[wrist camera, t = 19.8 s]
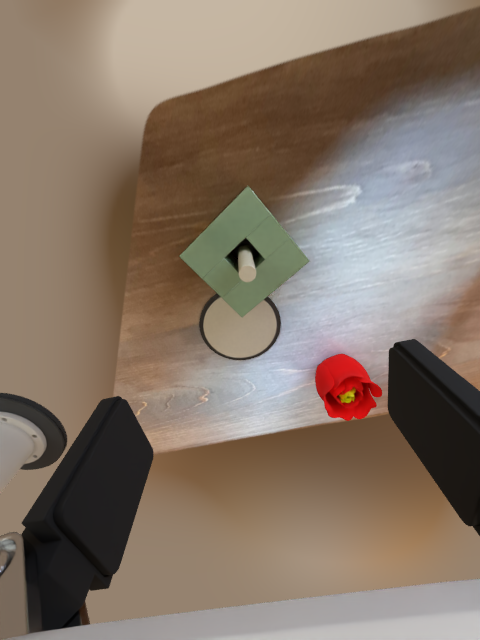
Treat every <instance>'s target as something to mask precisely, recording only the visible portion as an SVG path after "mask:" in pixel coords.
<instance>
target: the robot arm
mask: <svg viewBox="0 0 480 640" xmlns="http://www.w3.org/2000/svg"><path fill="white" fill-rule="evenodd" d="M388 411H389V414H390V416H391V418H392V420H393V421H394V423H395V424H396V425H397V427H398V428H399V430H400V431H401V433H402V434H403V436H404V437H405V439H406V440H407V441H408V443H409V444H410V446H411V447H412V449H413V450H414V452H415V453H416V454H417V456H418V457H419V459H420V460H421V462H422V463H423V464H424V466H425V467H426V469H427V470H428V472H429V473H430V475H431V476H432V478H433V479H434V481H435V482H436V483H437V485H438V486H439V488H440V489H441V491H442V492H443V494H444V495H445V496H446V498H447V499H448V501H449V502H450V504H451V505H452V507H453V508H454V509H455V511H456V512H457V514H458V515H459V517H460V518H461V519H462V521H463V522H464V523H465V524H466V525H468V526H473V527H474V529H475V530H476V531H477V533H478V534H479V536H480V391H479V390H478V389H476V388H475V387H474V386H473V385H471V384H470V383H469V382H468V381H466V380H465V379H464V378H462V377H461V376H460V375H459V374H457V373H456V372H455V371H454V370H452V369H451V368H450V367H449V366H448V365H446V364H445V363H444V362H443V361H441V360H440V359H439V358H438V357H437V356H435V355H434V354H433V353H432V352H430V351H429V350H428V349H427V348H426V347H424V346H423V345H422V344H421V343H419V342H418V341H417V340H415V339H412V340H407V341H401V342H396V343H395V344H394V347H393V348H390V350H389V375H388ZM46 447H47V442H46V438H45V436H44V434H43V432H42V431H41V430H40V429H39V428H38V427H37V426H36V425H35V424H34V423H32V422H31V421H29V420H28V419H26V418H23V417H21V416H19V415H16V414H13V413H8V412H0V494H1V492H2V491H3V490H4V489H5V487H6V486H7V485H8V484H9V482H10V481H11V480H12V478H13V477H14V476H15V475H16V473H17V472H18V471H19V470H20V468H21V467H22V466H23V464H27V463H31V462H34V461H36V460H37V459H39V458H40V457H41V456H42V454H43V453H44V451H45V450H46ZM152 460H153V449H152V447H151V445H150V443H149V441H148V439H147V437H146V435H145V434H144V432H143V430H142V428H141V426H140V424H139V422H138V421H137V419H136V417H135V415H134V413H133V411H132V409H131V407H130V406H129V404H128V402H127V401H126V400H125V399H122V398H121V397H119V396H117V397H112V398H107V399H103V400H101V401H100V403H99V404H98V406H97V408H96V409H95V410H94V412H93V414H92V415H91V417H90V418H89V420H88V421H87V423H86V424H85V426H84V427H83V429H82V431H81V432H80V434H79V435H78V437H77V438H76V440H75V441H74V443H73V444H72V446H71V447H70V449H69V451H68V452H67V454H66V455H65V457H64V458H63V460H62V462H61V463H60V465H59V466H58V468H57V469H56V471H55V472H54V474H53V476H52V477H51V478H50V480H49V481H48V483H47V485H46V486H45V488H44V489H43V491H42V492H41V494H40V496H39V497H38V498H37V500H36V502H35V503H34V505H33V506H32V508H31V509H30V511H29V513H28V514H27V516H26V517H25V519H24V520H23V522H22V524H23V525H24V526H25V527H26V528H25V530H24V531H23V533H22V535H21V534H19V533H17V532H11V533H7V534H4V535H2V536H0V640H480V579H472V580H462V581H450V582H441V583H432V584H424V585H415V586H406V587H397V588H388V589H380V590H370V591H362V592H353V593H344V594H335V595H326V596H318V597H309V598H301V599H292V600H284V601H276V602H267V603H259V604H251V605H243V606H235V607H225V608H218V609H209V610H201V611H193V612H184V613H176V614H168V615H161V616H152V617H144V618H137V619H129V620H120V621H112V622H104V623H96V624H90V623H89V618H88V613H87V608H86V603H85V599H86V596H87V593H88V591H89V589H90V590H99V589H106V588H109V586H110V582H111V579H112V576H113V574H115V573H116V572H117V570H118V569H119V566H120V563H121V560H122V557H123V554H124V550H125V547H126V544H127V541H128V538H129V534H130V531H131V528H132V525H133V522H134V518H135V515H136V512H137V509H138V505H139V502H140V499H141V496H142V493H143V489H144V486H145V483H146V480H147V476H148V473H149V470H150V467H151V464H152Z"/></svg>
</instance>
